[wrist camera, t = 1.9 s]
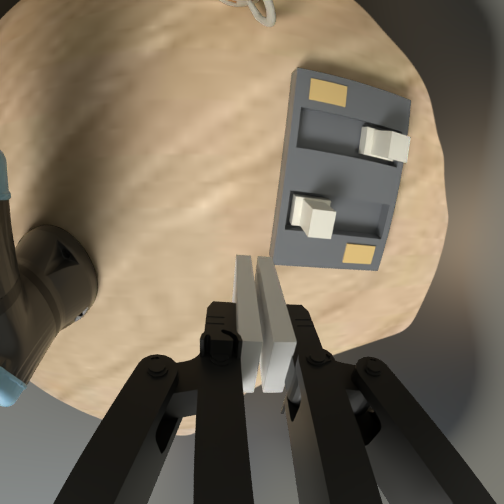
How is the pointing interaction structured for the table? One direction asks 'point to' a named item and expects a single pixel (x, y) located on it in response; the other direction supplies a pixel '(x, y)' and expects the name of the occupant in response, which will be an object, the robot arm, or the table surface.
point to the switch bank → (337, 171)
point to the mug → (256, 10)
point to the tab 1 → (313, 215)
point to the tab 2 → (384, 144)
